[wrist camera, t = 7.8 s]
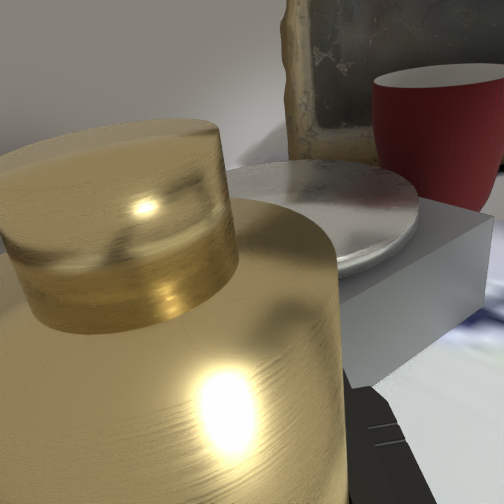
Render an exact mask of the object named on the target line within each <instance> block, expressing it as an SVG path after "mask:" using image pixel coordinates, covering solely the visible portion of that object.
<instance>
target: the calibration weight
mask: <svg viewBox="0 0 504 504" xmlns="http://www.w3.org/2000/svg"><path fill="white" fill-rule="evenodd" d="M0 237H1V239H2V242H3V244H4V247H5V249H6V251H7V252H5V253H3V254H2V255H0V504H349V492H348V471H347V450H346V429H345V409H344V388H343V367H342V346H341V325H340V304H339V283H338V264H337V256H336V251H335V248H334V246H333V244H332V241H331V239H330V238H329V237H328V235H327V234H326V233H325V231H324V230H323V229H322V228H320V227H319V226H318V225H317V224H316V223H315V222H314V221H312V220H310V219H309V218H307V217H305V216H304V215H302V214H300V213H298V212H295V211H293V210H291V209H288V208H285V207H282V206H279V205H276V204H272V203H267V202H263V201H257V200H250V199H243V198H230V196H229V189H228V183H227V177H226V170H225V164H224V158H223V152H222V145H221V139H220V133H219V128H218V127H217V126H216V125H215V124H213V123H211V122H208V121H204V120H197V119H178V118H177V119H155V120H143V121H135V122H127V123H120V124H115V125H108V126H102V127H97V128H92V129H87V130H83V131H78V132H74V133H69V134H65V135H61V136H57V137H54V138H50V139H47V140H43V141H40V142H37V143H34V144H31V145H28V146H25V147H22V148H19V149H17V150H14V151H12V152H9V153H7V154H5V155H2V156H0Z"/></svg>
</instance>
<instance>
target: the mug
mask: <svg viewBox="0 0 504 504" xmlns="http://www.w3.org/2000/svg"><path fill="white" fill-rule="evenodd" d="M372 126H373V133H374V139H375V145H376V150H377V156H378V161H379V167H380V168H383V169H386V170H389V171H392V172H394V173H396V174H398V175H400V176H402V177H403V178H405V179H406V180H408V181H409V182H410V183H411V184H412V185H413V186H414V188H415V189H416V191H417V193H418V197H422V198H426V199H429V200H433V201H437V202H441V203H445V204H449V205H452V206H456V207H460V208H464V209H468V210H472V211H475V212H480V210H481V209H482V207H483V206H484V205H485V203H486V201H487V200H488V198H489V196H490V193H491V190H492V188H493V185H494V182H495V179H496V175H497V172H498V169H499V166H500V163H501V160H502V157H503V154H504V64H489V63H469V64H449V65H437V66H428V67H420V68H413V69H407V70H401V71H396V72H392V73H388V74H385V75H382V76H379V77H377V78H375V79H374V80H373V82H372Z"/></svg>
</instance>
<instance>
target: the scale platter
mask: <svg viewBox="0 0 504 504" xmlns="http://www.w3.org/2000/svg"><path fill="white" fill-rule="evenodd" d="M226 177H227V183H228V189H229V196H230V198H243V199H250V200H257V201H263V202H267V203H272V204H276V205H279V206H282V207H285V208H288V209H291V210H293V211H295V212H298V213H300V214H302V215H304V216H305V217H307V218H309V219H310V220H312V221H314V222H315V223H316V224H317V225H318V226H319V227H320V228H322V229H323V230H324V231H325V233H326V234H327V235H328V237H329V238H330V239H331V241H332V244H333V246H334V248H335V251H336V256H337V264H338V279H341V278H345V277H348V276H351V275H354V274H356V273H359V272H362V271H365V270H367V269H369V268H371V267H373V266H376V265H378V264H380V263H382V262H384V261H385V260H387V259H388V258H390V257H392V256H393V255H395V254H396V253H397V252H399V251H400V250H401V249H402V248H403V247H404V246H406V245H407V243H408V242H409V241H410V240H411V238H412V237H413V235H414V233H415V231H416V229H417V224H418V210H419V198H418V193H417V191H416V189H415V188H414V186H413V185H412V184H411V183H410V182H409V181H408V180H406V179H405V178H403V177H402V176H400V175H398V174H396V173H394V172H392V171H389V170H386V169H383V168H380V167H376V166H372V165H368V164H363V163H358V162H350V161H340V160H319V159H315V160H289V161H279V162H270V163H263V164H257V165H251V166H246V167H241V168H237V169H233V170H229V171H226Z"/></svg>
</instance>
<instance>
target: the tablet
mask: <svg viewBox="0 0 504 504" xmlns="http://www.w3.org/2000/svg"><path fill="white" fill-rule="evenodd" d="M286 5H287V6H286V11H285V15H284V17H283V19H282V21H281V25H280V33H281V44H282V61H283V65H284V68H285V71H286V85H285V93H284V105H285V117H286V127H287V136H288V154H289V160H315V159H319V160H340V161H350V162H358V163H363V164H368V165H372V166H376V167H379V161H378V156H377V150H376V145H375V139H374V133H373V126H372V82H373V80H374V79H375V78H377V77H379V76H382V75H385V74H388V73H392V72H396V71H401V70H407V69H413V68H420V67H428V66H437V65H449V64H469V63H489V64H504V0H287V4H286ZM502 164H504V154H503V157H502V160H501V163H500V165H502Z"/></svg>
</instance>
